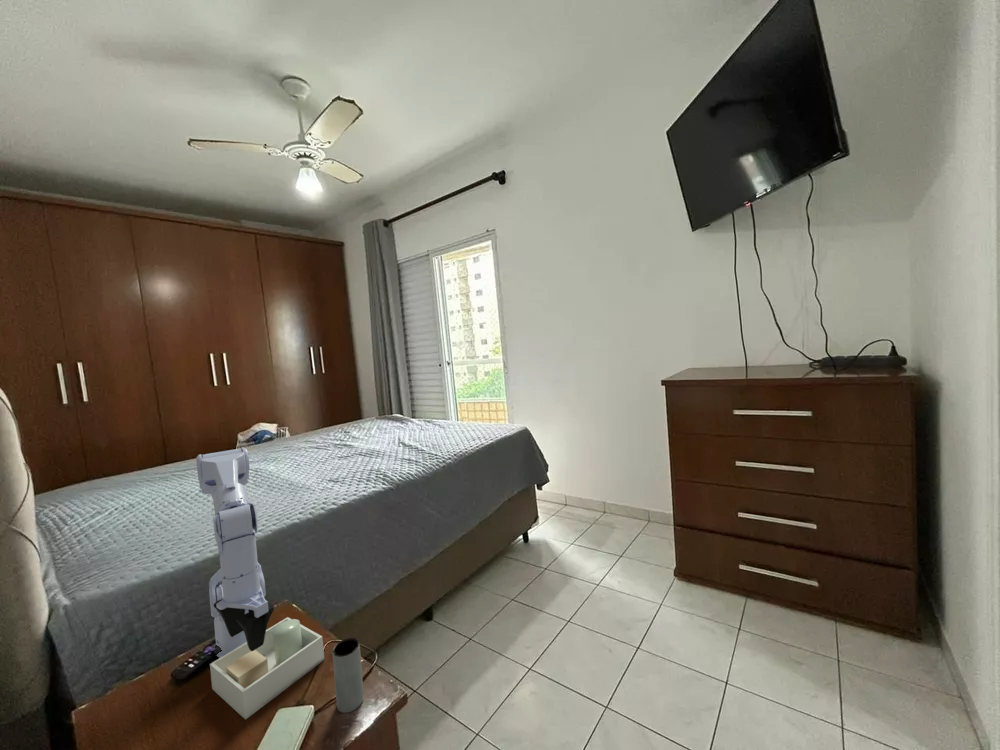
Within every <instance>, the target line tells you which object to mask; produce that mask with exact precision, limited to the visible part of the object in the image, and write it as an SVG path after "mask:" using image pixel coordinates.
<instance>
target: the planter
mask: <svg viewBox="0 0 1000 750" xmlns="http://www.w3.org/2000/svg"><path fill="white" fill-rule="evenodd" d="M360 643H361V642H360V640H359V638H357V637H356V638H355V637H347V638H344V639H342V640H341V641H338V642H337V643H336V644H335V646H334V647H333V649H332V660H333V661H332V665H333V675H334V685H335V688H334V689H335V700H336V701H335V702H336V708H337V710H338V711H339V712H340V713H345V714H346V713H350V712H352V711H354V710H356V709H357V708H359V707H360V706H361V704H362V703H363V702H364V697H365V693H364V682H363V680H364V679H363V670H362V669H363V668H362V659H361V658H362V655H361V645H360Z"/></svg>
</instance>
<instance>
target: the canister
mask: <svg viewBox="0 0 1000 750" xmlns="http://www.w3.org/2000/svg"><path fill="white" fill-rule="evenodd" d="M290 619H291V620H287V621H284V622H282V623H281V624H279V625H278V626H276V627H275V628H274V629H273V631H272V636H273V644H274V652H275V659H276V667H277V666H278V665H280V664H281V663H282V662H284V661H285V660H287V659H288V658H290V657H291V656H293V655H294V654H295V653H297V652H298V651H300V650H301V649H303V644H302V636H301V628H300V624H301V622H300V620H299V619H296V618H295V619H294V618H290Z"/></svg>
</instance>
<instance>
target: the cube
mask: <svg viewBox="0 0 1000 750" xmlns="http://www.w3.org/2000/svg"><path fill="white" fill-rule="evenodd" d="M267 673H268V662H267V658H266V657H264V656H263V655H261V654H260V653H259V652H257V651H256V650H254V651H251V652H249V653H247V654H246V655H244V656H243V657H241V658H239V659H238V660H236V661H235V662H233V663H231V664H230V665H228V666H227V667H226V674H228V675H229V676H230V677H231V678H232V679H234V680H235V681H236V682H237V683H238V684H240V685H241V686H242V687H243V688H244V689H245V688H246V687H248V686H249V685H251V684H252V683H254V682H255V681H257V680H258V679H259V678H261V677H262V676H264V675H265V674H267Z"/></svg>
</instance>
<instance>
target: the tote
mask: <svg viewBox="0 0 1000 750" xmlns="http://www.w3.org/2000/svg"><path fill="white" fill-rule="evenodd" d="M291 619H292V618H290V617H288V616H287V617H286V618H284V619H282V620H280V621H279V622H277V623H275V624H274V625H272V626H271V627H269V628H266V633H265V638H264V643H263V645H262V646H260V647H259V648H257V649H255V650H256V651H257V652H259V653H260V654H261V655H263V656H264V657H266V658H267V662H268V673H267V674H265V675H264V676H262V677H261V678H259V679H258V680H257V681H255V682H254V683H252V684H251V685H249V686H248V687H246V688H245V689H244V688H243V687H242V686H241V685H240V684H238V683H237V682H236V681H235V680H234V679H232V678H231V677H230V676H229V675H228V674H226V667H227V666H228V665H230V664H231V663H233V662H235V661H236V660H238V659H239V658H241V657H243V656H244V655H246V654H247V653H249V652H251V651H250V649H249V647H248V644H247V642H246V643H244V644H242V645H241V646H239V647H237V648H236V649H234V650H232V651H231V652H229V653H228V654H226V655H224V656H223V657H221V658H219V657H218V659H216V660H214V661H212V662H211V663H209V667H210V682H211V688H212V691H214V692H215V693H216V694H217V695H218V696H219V697H220V698H221V699H222V700H223V701H225V703H227V704H228V706H230V707H231V708H232V709H233V710H235V712H237V714H238V715H240V716H241V717H242V718H243V719H244V720H247V719H249V717H251V716H253V715H254V714H255V713H256V712H257V711H259V710H260V709H262V708H264V707H265V705H267V704H268V703H270V702H271V701H273V699H275V698H277V697H278V696H279V695H280V694H282V692H284V691H285V690H287V689H288V688H289V687H291V686H292V685H294V684H295V683H296V682H297V681H298V680H300V679H301V678H302V677H304V676H305V675H307V674H308V673H309V672H311V671H312V670H313V669H315V668H316V667H317V666H318V665H319V664H321V663H322V662H323V661H325V651H324V639H323V635H320V634H319V633H317V632H316V631H314V630H311V629H310V628H308V627H306V626H305V625H303V624H301V623H300V628H301V636H302V644H303V649H301V650H300V651H298V652H297V653H295V654H294V655H293V656H291V657H290V658H288V659H287V660H285V661H284V662H282V663H281V664H280V665H278V666H277V667H276V659H275V652H274V644H273V636H272V631H273V629H274V628H275V627H276V626H278V625H279V624H281V623H282V622H284V621H287V620H291Z"/></svg>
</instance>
